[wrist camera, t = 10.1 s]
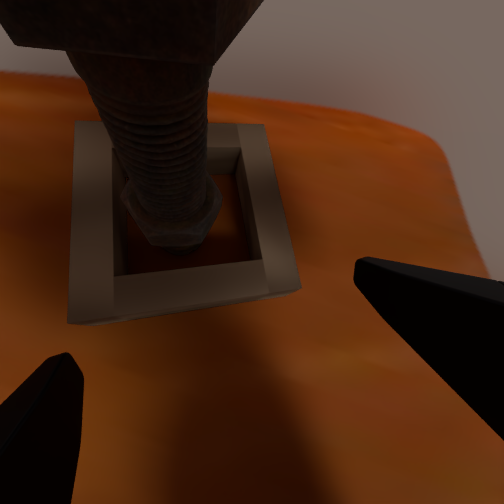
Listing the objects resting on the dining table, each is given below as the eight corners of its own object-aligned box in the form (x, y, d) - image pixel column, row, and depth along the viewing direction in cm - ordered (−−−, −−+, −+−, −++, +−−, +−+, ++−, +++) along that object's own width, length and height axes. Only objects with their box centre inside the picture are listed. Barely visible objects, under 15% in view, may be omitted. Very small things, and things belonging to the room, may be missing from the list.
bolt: (135, 273, 16) (-339, -188, 2) (136, 203, 17) (-125, -338, 3) (226, 267, 17) (332, -42, 3) (220, 202, 19) (274, -199, 5)
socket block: (285, 295, 17) (301, 287, 15) (92, 325, 15) (67, 323, 12) (255, 152, 21) (263, 124, 18) (94, 154, 18) (74, 120, 15)
